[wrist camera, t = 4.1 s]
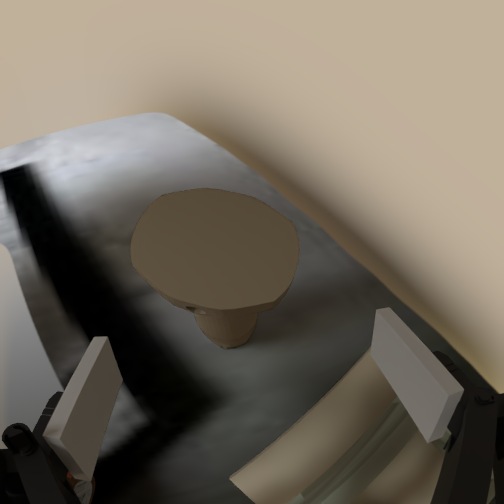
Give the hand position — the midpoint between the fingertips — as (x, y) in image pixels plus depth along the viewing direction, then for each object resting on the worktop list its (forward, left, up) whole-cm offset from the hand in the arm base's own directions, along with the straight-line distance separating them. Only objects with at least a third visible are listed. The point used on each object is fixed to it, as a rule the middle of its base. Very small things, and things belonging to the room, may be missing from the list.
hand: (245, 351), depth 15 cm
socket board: (+17, +1, -10) cm, 20 cm away
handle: (-3, +1, -11) cm, 11 cm away
